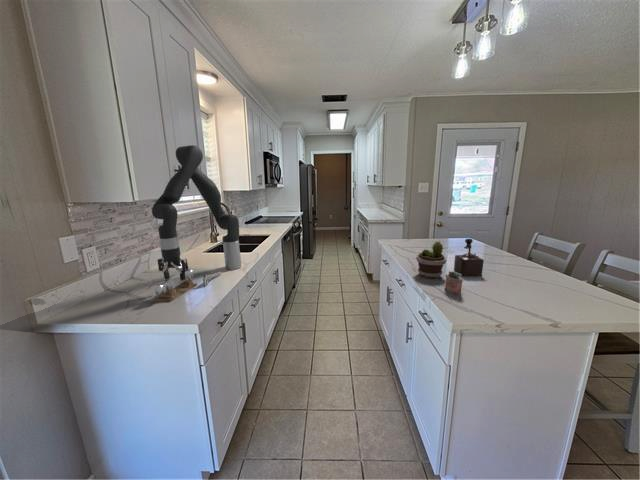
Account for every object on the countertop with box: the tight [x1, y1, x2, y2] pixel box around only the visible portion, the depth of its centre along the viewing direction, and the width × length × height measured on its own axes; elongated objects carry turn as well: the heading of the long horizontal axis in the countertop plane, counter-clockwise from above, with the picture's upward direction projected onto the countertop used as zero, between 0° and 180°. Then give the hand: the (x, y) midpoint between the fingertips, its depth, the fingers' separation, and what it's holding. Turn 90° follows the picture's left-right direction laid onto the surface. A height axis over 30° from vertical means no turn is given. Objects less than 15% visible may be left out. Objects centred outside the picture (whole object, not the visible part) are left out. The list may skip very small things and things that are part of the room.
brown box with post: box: [453, 238, 485, 278], centre depth 141 cm, size 16×11×18 cm
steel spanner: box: [154, 268, 194, 296], centre depth 121 cm, size 23×3×4 cm, turn 170°
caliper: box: [202, 271, 223, 287], centre depth 138 cm, size 20×1×6 cm, turn 178°
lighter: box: [443, 270, 464, 297], centre depth 115 cm, size 8×3×10 cm, turn 23°
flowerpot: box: [415, 239, 447, 280], centre depth 136 cm, size 14×15×20 cm
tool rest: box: [153, 276, 198, 303], centre depth 122 cm, size 19×8×6 cm, turn 170°
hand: (175, 279), depth 121 cm, fingers open, 8 cm apart
